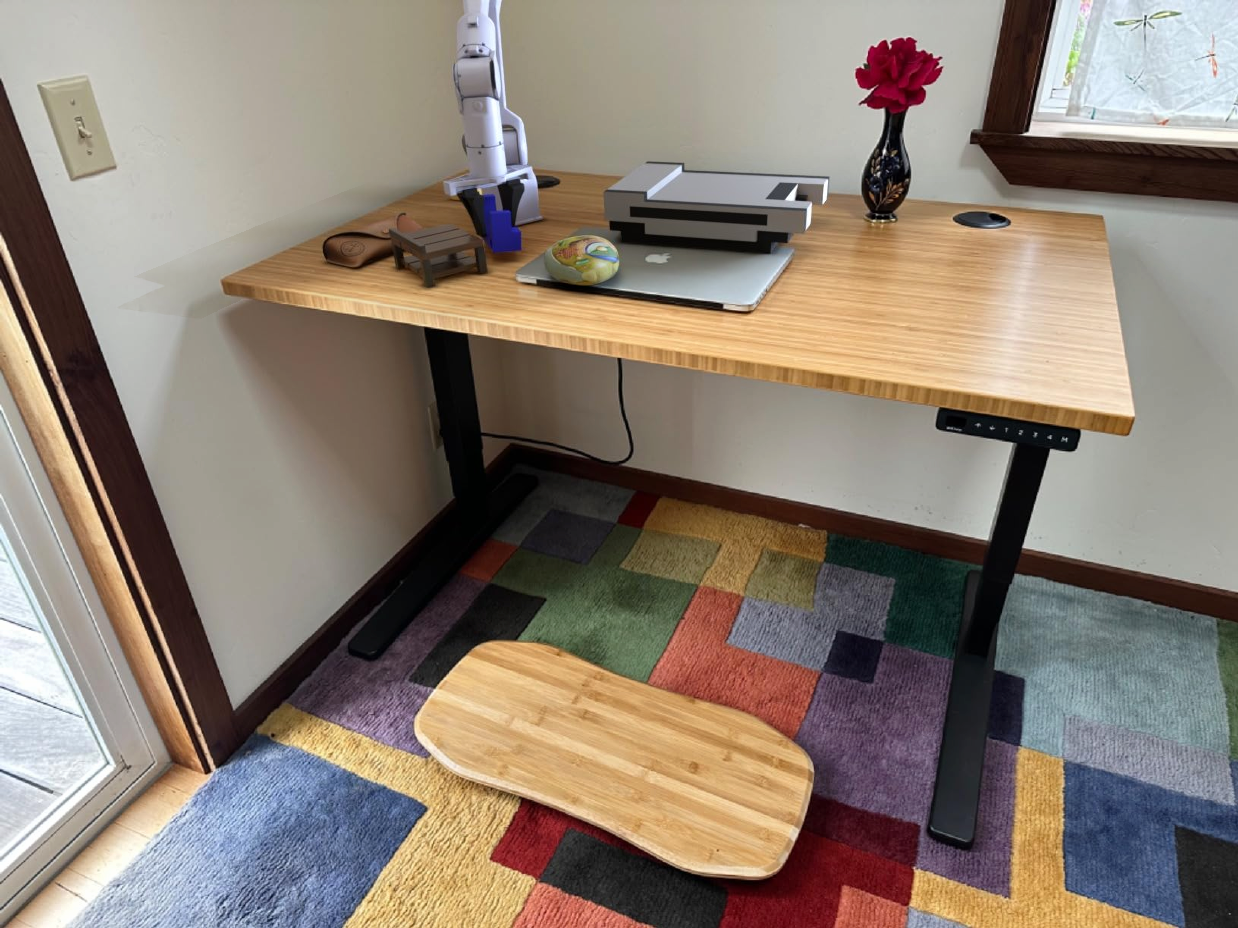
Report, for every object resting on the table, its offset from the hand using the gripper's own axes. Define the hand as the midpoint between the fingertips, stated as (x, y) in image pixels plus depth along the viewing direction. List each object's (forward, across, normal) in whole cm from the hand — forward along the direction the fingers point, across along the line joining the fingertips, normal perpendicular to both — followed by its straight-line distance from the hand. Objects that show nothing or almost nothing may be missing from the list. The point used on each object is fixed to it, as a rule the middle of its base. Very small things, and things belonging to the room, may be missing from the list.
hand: (495, 232), depth 139 cm
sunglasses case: (+3, -14, +14) cm, 20 cm away
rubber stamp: (+3, +14, +35) cm, 38 cm away
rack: (+3, -11, -2) cm, 12 cm away
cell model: (+3, +4, -20) cm, 21 cm away
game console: (+3, +33, -16) cm, 37 cm away
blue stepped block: (+2, 0, -1) cm, 2 cm away
